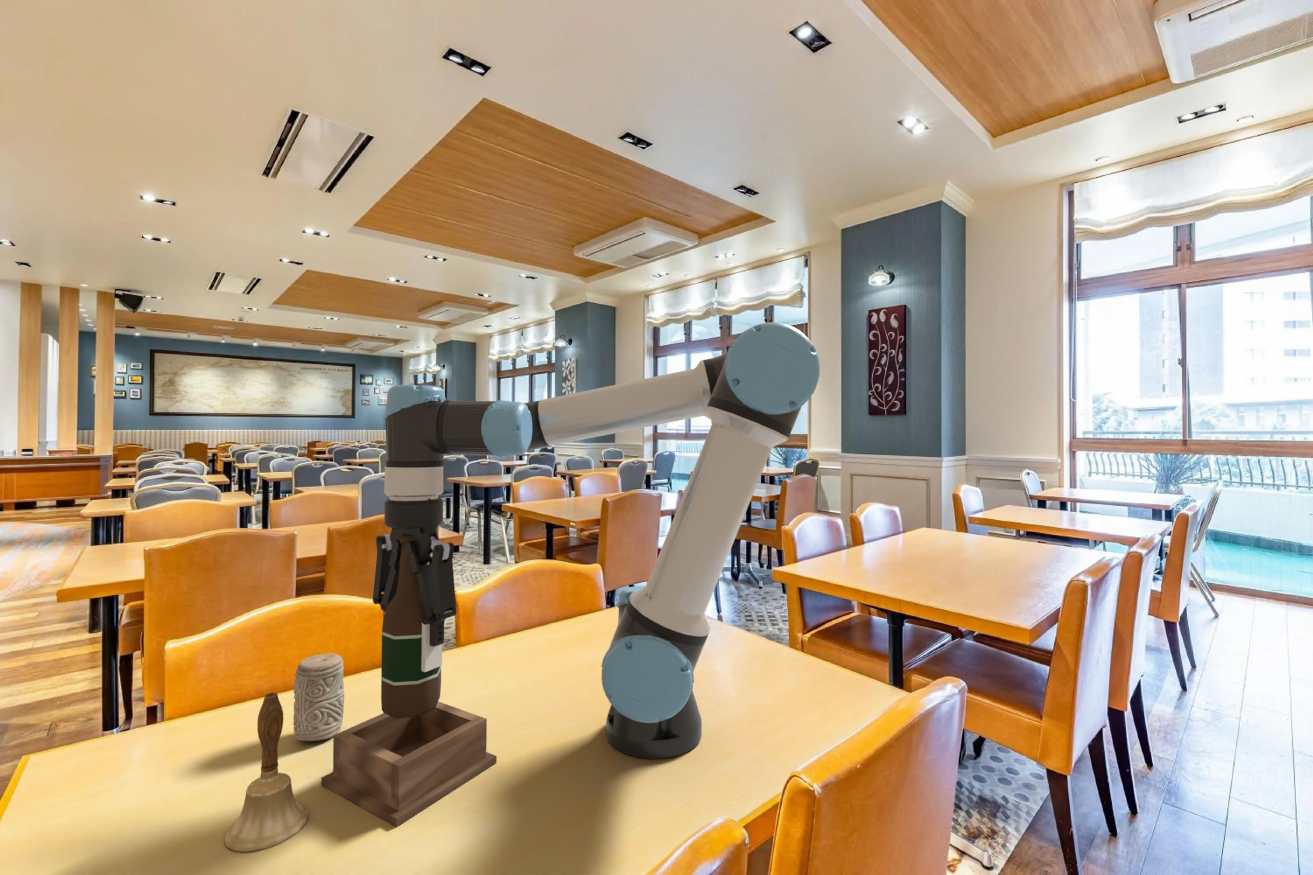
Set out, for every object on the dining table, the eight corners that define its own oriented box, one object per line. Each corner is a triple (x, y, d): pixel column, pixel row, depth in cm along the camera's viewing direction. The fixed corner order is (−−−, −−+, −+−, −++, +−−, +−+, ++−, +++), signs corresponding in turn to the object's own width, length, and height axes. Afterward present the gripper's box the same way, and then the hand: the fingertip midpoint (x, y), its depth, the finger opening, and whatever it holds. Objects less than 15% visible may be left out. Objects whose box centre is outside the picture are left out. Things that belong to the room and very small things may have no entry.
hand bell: (322, 805, 73) (323, 679, 73) (282, 852, 65) (283, 710, 65) (255, 805, 73) (256, 679, 73) (206, 853, 65) (207, 710, 65)
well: (496, 762, 83) (496, 717, 83) (396, 826, 69) (397, 772, 69) (423, 732, 91) (423, 691, 91) (321, 784, 77) (321, 736, 77)
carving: (353, 724, 93) (354, 650, 93) (322, 749, 86) (323, 669, 86) (316, 722, 94) (317, 649, 94) (282, 747, 86) (283, 667, 86)
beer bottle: (419, 722, 76) (422, 539, 76) (367, 716, 77) (369, 536, 77) (452, 696, 83) (454, 530, 83) (404, 691, 85) (406, 527, 85)
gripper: (487, 499, 78) (484, 668, 78) (393, 490, 89) (391, 639, 89) (441, 504, 72) (438, 688, 72) (345, 494, 82) (343, 655, 82)
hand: (412, 661), depth 80 cm, fingers closed on beer bottle, 7 cm apart
